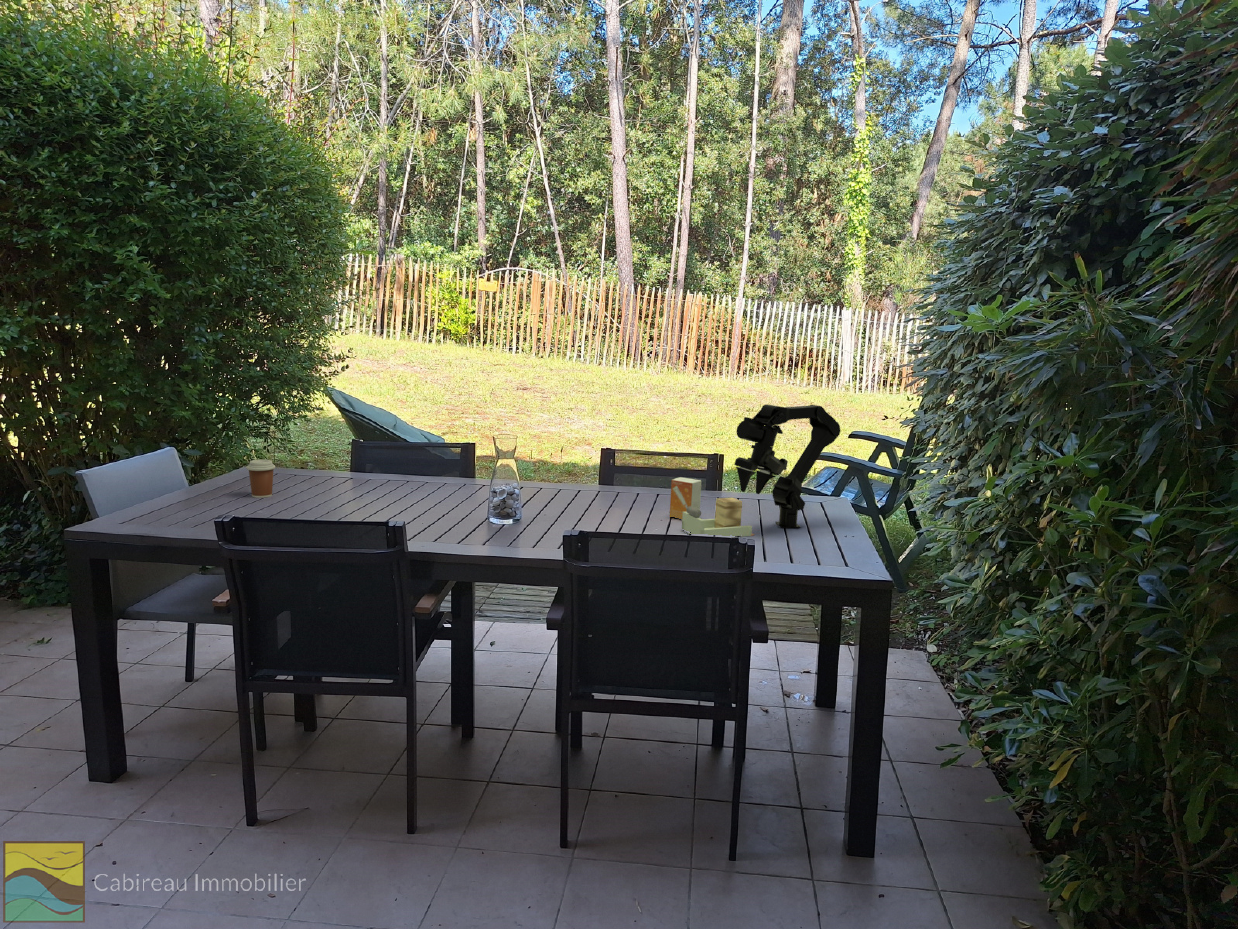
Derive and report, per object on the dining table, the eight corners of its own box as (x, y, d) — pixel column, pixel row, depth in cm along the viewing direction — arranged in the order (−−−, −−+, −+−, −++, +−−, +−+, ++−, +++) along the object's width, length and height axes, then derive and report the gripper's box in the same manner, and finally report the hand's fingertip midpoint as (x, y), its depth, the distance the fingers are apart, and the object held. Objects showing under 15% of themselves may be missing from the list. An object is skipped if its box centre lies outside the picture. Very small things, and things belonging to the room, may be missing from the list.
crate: (731, 526, 279) (732, 497, 277) (740, 531, 274) (742, 501, 272) (714, 528, 276) (716, 498, 275) (723, 532, 271) (725, 502, 270)
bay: (733, 526, 283) (735, 500, 281) (753, 535, 272) (755, 508, 271) (680, 530, 275) (681, 504, 273) (698, 540, 264) (699, 512, 263)
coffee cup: (269, 499, 297) (268, 464, 295) (242, 498, 297) (241, 463, 295) (280, 493, 306) (279, 459, 304) (254, 492, 306) (253, 458, 304)
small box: (669, 518, 291) (670, 479, 288) (678, 514, 296) (680, 476, 294) (690, 522, 286) (692, 482, 284) (699, 518, 292) (702, 480, 289)
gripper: (771, 447, 262) (757, 498, 264) (800, 454, 277) (786, 502, 278) (740, 438, 269) (726, 487, 271) (770, 445, 284) (756, 492, 285)
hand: (750, 492), depth 276 cm, fingers open, 9 cm apart
